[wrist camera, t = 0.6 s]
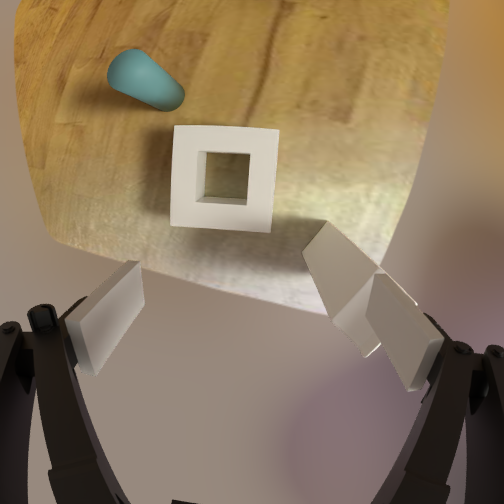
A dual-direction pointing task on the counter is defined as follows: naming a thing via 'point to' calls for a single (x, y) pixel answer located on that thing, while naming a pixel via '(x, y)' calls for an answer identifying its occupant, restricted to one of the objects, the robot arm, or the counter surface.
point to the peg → (144, 80)
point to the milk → (344, 283)
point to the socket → (194, 171)
